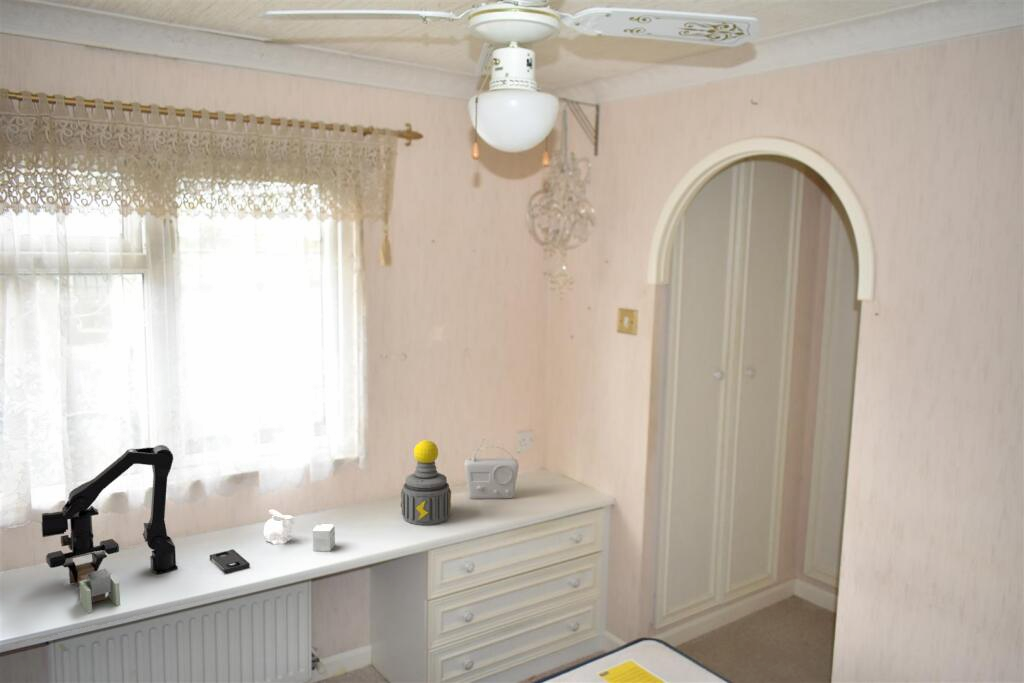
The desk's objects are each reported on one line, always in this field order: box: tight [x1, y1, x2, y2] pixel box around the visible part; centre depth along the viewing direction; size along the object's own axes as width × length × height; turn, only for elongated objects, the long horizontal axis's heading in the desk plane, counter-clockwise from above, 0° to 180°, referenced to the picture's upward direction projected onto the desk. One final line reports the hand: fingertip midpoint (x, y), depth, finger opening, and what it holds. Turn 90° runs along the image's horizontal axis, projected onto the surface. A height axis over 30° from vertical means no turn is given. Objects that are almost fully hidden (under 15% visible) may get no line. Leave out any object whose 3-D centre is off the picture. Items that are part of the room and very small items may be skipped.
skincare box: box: [312, 523, 336, 552], centre depth 269 cm, size 6×6×7 cm
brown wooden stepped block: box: [68, 561, 106, 603], centre depth 235 cm, size 18×7×5 cm, turn 42°
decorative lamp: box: [400, 439, 452, 526], centre depth 298 cm, size 19×19×30 cm
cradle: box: [78, 573, 121, 614], centre depth 228 cm, size 8×11×7 cm
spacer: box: [87, 568, 111, 596], centre depth 227 cm, size 5×5×5 cm
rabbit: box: [263, 509, 296, 545], centre depth 274 cm, size 12×9×12 cm
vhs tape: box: [209, 549, 250, 575], centre depth 256 cm, size 14×8×2 cm, turn 40°
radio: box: [464, 438, 520, 500], centre depth 323 cm, size 22×8×25 cm, turn 95°
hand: (84, 579), depth 240 cm, fingers closed on brown wooden stepped block, 4 cm apart
